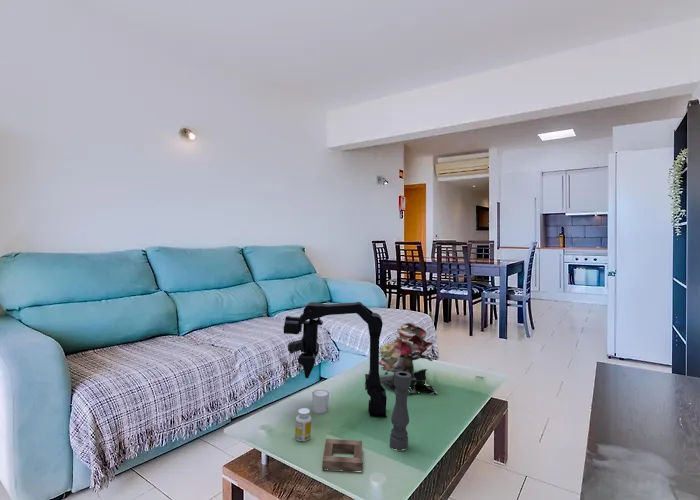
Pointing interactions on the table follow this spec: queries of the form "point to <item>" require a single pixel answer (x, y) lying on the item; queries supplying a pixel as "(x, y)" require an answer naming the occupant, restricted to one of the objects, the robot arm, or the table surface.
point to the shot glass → (320, 401)
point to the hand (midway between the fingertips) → (308, 373)
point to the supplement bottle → (303, 425)
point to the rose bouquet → (405, 356)
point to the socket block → (342, 462)
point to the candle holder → (400, 411)
